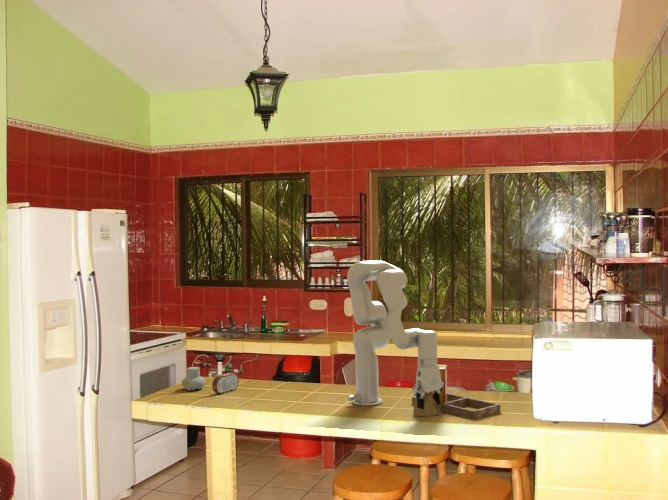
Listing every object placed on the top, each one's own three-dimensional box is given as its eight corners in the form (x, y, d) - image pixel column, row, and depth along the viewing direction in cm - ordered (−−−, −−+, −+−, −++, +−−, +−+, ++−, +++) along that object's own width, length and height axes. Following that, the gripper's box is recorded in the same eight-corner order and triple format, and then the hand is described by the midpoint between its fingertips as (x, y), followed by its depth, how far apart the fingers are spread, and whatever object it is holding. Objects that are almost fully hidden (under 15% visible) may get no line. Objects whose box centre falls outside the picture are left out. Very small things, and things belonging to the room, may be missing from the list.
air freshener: (179, 388, 328) (179, 367, 328) (195, 386, 333) (194, 365, 333) (192, 392, 320) (191, 370, 319) (207, 389, 325) (207, 368, 325)
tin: (235, 388, 326) (234, 370, 326) (240, 389, 324) (239, 371, 324) (211, 394, 314) (211, 376, 314) (216, 395, 312) (216, 377, 312)
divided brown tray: (474, 419, 266) (474, 411, 266) (412, 404, 291) (411, 396, 291) (500, 412, 276) (500, 404, 276) (438, 397, 301) (437, 391, 301)
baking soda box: (445, 407, 285) (444, 368, 285) (429, 406, 287) (428, 367, 286) (447, 401, 294) (446, 364, 294) (431, 401, 296) (431, 363, 296)
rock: (444, 406, 277) (421, 400, 281) (443, 392, 272) (418, 387, 276) (436, 428, 270) (412, 421, 274) (434, 414, 265) (409, 408, 269)
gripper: (419, 366, 265) (420, 411, 265) (449, 360, 276) (450, 404, 276) (405, 363, 270) (406, 408, 271) (435, 358, 281) (436, 401, 282)
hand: (428, 406), depth 273 cm, fingers closed on rock, 8 cm apart
